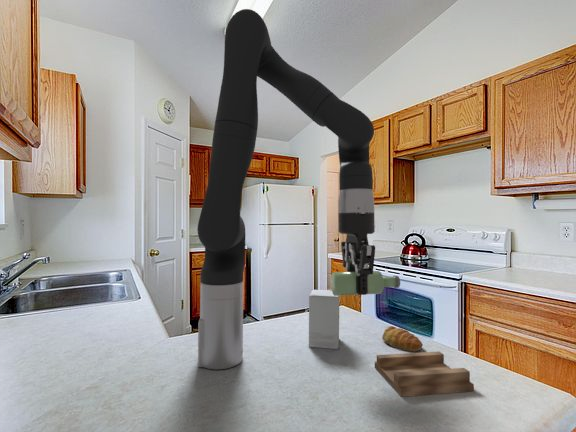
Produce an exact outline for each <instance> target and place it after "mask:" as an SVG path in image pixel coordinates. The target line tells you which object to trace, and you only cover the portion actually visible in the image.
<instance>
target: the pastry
mask: <svg viewBox="0 0 576 432" xmlns="http://www.w3.org/2000/svg"><path fill="white" fill-rule="evenodd" d="M382 340H383V341H384V343H385V344H386V345H390V347H393V348H397V349H399V350H404V351H406V352H407V351H408V352H413V353H416V352H419V351H420V350H422V348H423V342H422V341H421V339H419V338H418V336H415V334H413V333H411V332H409V331H408V330H407V329H404V328H401V327H399V328H397V327H396V326H393V325H389V326H388V327H386V328H385V330H384V332H383V334H382Z"/></svg>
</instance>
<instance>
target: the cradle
mask: <svg viewBox="0 0 576 432" xmlns="http://www.w3.org/2000/svg"><path fill="white" fill-rule="evenodd" d="M374 369H375V370H376V371H377V372H378V373H379V374H380V375H381V376H382V377H383V379H384V380H385V381H386V382H387V383H388V384H389V385H390V386H391V388H392V389H394V391H395V392H396V393H397V394H398V395H399V396H400V397H402V398H403V397H415V396H429V395H440V394H441V395H442V394H454V393H467V392H474V391H475V384H474V383H472V382H471V379H470V377H471V375H470V374H471V371H469V370H468V369H467V368H465V367H458V368H456V367H455V368H452V367H450V366H449V365H447V364H445V356H444V353H442V352H441V351H424V352H423V351H422V352H406V353H405V352H404V353H390V354H388V353H387V354H377V355H376V361H374Z"/></svg>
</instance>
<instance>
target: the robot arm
mask: <svg viewBox="0 0 576 432" xmlns="http://www.w3.org/2000/svg"><path fill="white" fill-rule="evenodd" d="M266 24H267V23H265V21H264V19H263V17H262V16H261V15H260V14H259V13H258V12H256V11H255V10H254V9H250V8H243V9H240V10H239V11H236V12H235V13H234V14H233V15H232V16H231V17H230V19H229V21H228V22H227V25H226V28H225V32H224V55H223V72H222V80H221V86H220V90H219V91H220V92H219V97H218V104H217V109H216V116H215V121H214V125H213V126H214V127H213V133H212V134H213V136H212V141H211V143H212V144H211V152H210V158H209V170H208V182H207V186H206V187H207V188H206V192H205V196H204V199H203V202H202V207H201V211H200V216H199V218H198V222H197V228H196V229H197V230H196V231H197V236H198V239H199V241H200V243H201V245H202V246H203V247H204V259H203V260H204V261H203V264H202V267H201V269H200V293H199V294H200V301H199V303H200V305H199V306H200V308H199V317H200V318H199V320H198V322H197V323H198V326H197V328H198V329H197V330H198V332H197V333H198V334H197V337H198V338H197V345H198V346H197V367H198V368H206V369H209V370H225V369H230V368H233V367H236V366H238V365H239V364H240V363H241V362H242V361H243V358H244V357H243V356H244V354H243V353H244V347H243V346H244V274H245V273H244V272H245V266H246V265H245V264H246V225H245V221H244V219H243V218H242V216H241V204H242V193H243V187H244V185H245V184H244V183H245V181H246V178H247V174H248V172H249V169H250V166H251V163H252V161H253V157H254V153H255V149H256V148H255V147H256V142H257V135H258V126H259V108H258V107H259V106H258V104H259V102H258V90H257V86H258V85H257V81H258V78H259V79H261V80H263V81H264V82H266V83H267V84H269V85H270V86H272V87H273V88H274V89H276V90H277V91H278V92H279V93H281V94H282V95H283V96H284V97H286V98H287V99H288V100H289V101H291V102H292V103H293V104H294V105H295V107H297V109H299V110H301V112H303V113H304V115H306V116H307V117H308V118H310V120H311V121H313V122H314V123H315V124H317V125H318V126H320V127H323V128H324V127H326V129H328V130H329V131H331V132H332V133H333V134H334V135H336V137H337V144H338V147H337V148H338V159H339V160H338V161H339V173H338V174H339V176H338V178H339V179H338V183H339V184H338V189H339V195H338V202H337V204H338V205H337V207H338V208H337V209H338V211H337V212H338V217H337V218H338V233H339V234H340V235H341V234H342V235H346V239H345V241H341V243H340V247H341V255H342V256H341V257H342V266H343V268H345V272H356V293H357V294H358V295H357V296H364V295H368V294H367V293H368V278H367V276H369V274H373V271H374V267H375V256H376V255H375V254H376V246H375V245H370V244H369V239H368V235H372V234H374V233H375V232H376V231H375V197H374V191H373V189H374V186H373V185H374V177H373V175H374V174H373V168H372V165H371V164H370V143H371V141H372V140H373V137H374V133H375V128H374V125H373V122H372V121H371V119H370V118H369V117H368V116H367V115H366V114H365V113H364V112H363V111H361V110H360V109H358V108H356V107H355V106H353V105H351V104H349V103H348V102H346V101H344V100H342V99H340V98H339V97H338V96H337V95H336V94H334V92H332V90H330V89H329V88H328V87H326V85H324V84H323V83H322V82H320V80H318V79H316V78H315V77H313V76H311V74H308V73H306V72H304V71H301V70H299V69H297V68H295V67H293V66H292V65H290V64H289V63H288V62H286V61H285V60H284V59H283V57H281V55H279V53H278V52H277V51H276V49H275V48H274V47H273V45H272V42H271V37H270V34H269V33H270V32H269V30H268V27H267V25H266Z"/></svg>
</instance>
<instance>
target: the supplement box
mask: <svg viewBox="0 0 576 432" xmlns="http://www.w3.org/2000/svg"><path fill="white" fill-rule="evenodd" d="M339 340H340V295H338V296H334V295H333V293H332V289H330V290H329V289H312V290H311V292H310V294H309V295H308V347H310V348H318V349H331V350H332V349H333V350H338V349H339Z"/></svg>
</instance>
